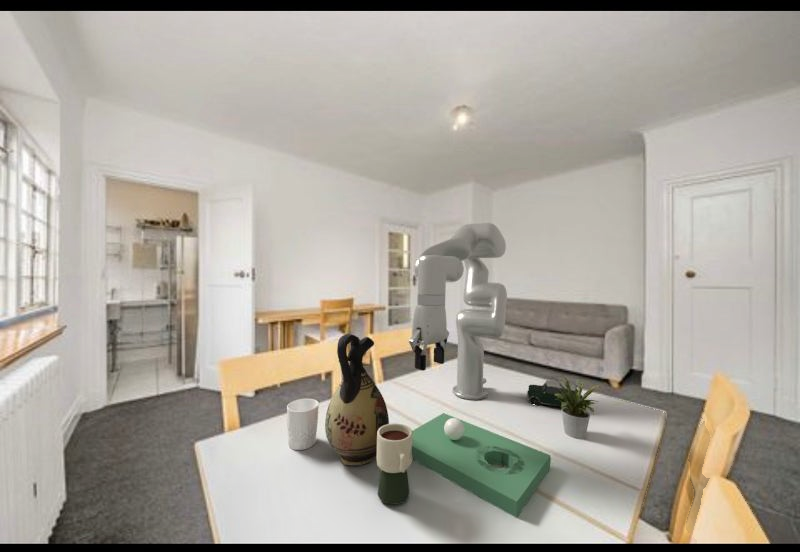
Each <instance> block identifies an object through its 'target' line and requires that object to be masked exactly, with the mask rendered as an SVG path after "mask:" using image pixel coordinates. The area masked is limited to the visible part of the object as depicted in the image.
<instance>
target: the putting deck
mask: <svg viewBox="0 0 800 552" xmlns="http://www.w3.org/2000/svg"><path fill="white" fill-rule="evenodd" d="M451 418H456V419H458V420H460V421H461V422H462V424H463V426H464V434H463V436H462V437H461V438H460V439H458V440H451V439H450V438H448V437H447V436H446V434H445V431H444V425H445V423H446V421H447V420H449V419H451ZM412 443H413V444H412V460H413V461H416V462H417V463H419V464H421V465H423V466H424V467H426V468H427V469H429V470H431V471H432V472H435V473H437V474H439V475H440V476H442V477H443V478H446V479H447V480H449V481H450V482H452V483H454V484H456V485H457V486H460V487H461V488H463V489H465V490H467V491H468V492H470V493H472V494H474V495H475V496H477V497H479V498H481V499H483V500H484V501H485V502H488V503H490V505H493V506H495V507H497V508H498V509H501V510H502V511H504V512H506V514H509V515H511V516H512V517H514V518H515V519H516V518H518V516H519V515H520V513H521V512H522V511H523V509H524V508H525V506H526V505H527V503H528V502H529V500H530V499H531V497H532V496H533V495H534V493H535V491H536V490H537V489H538V487H539V485H540V484H541V482H542V481H543V480H544V479H545V477H546V476H547V474H548V472H549V471H550V470H551V459H552V457H551V456H552V455H551V454H548V453H546V452H543V451H541V450H537V449H536V448H534V447H531V446H528V445H525V444H523V443H522V442H518V441H515V440H513V439H510V438H508V437H506V436H503V435H500V434H498V433H495V432H493V431H490V430H488V429H485V428H482V427H480V426H477V425H474V424H472V423H470V422H469V421H464V420H463V419H459V418H457V417H455V416H452V415H449V414H447V413H444V412H443V413H442V414H439V415H437V416H436V417H434V418H432V419H430V420H429V421H427V422H425V423H423V424H422V425H420V426H418V427H417V428H414V429H413V430H412ZM492 464H498V465H502V466H504V467H507V468H502V467H497V466H494V465H492Z"/></svg>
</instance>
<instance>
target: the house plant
mask: <svg viewBox="0 0 800 552" xmlns="http://www.w3.org/2000/svg"><path fill="white" fill-rule="evenodd" d="M547 376H548V377H550V375H547ZM552 378H553V379H554V380H555V381H558V382H559V381H560V380H558V379H557V378H556V377H554V376H552ZM580 378H581V377H578V379H577V381H576V385H575V386H576V388H575V392H573V394H572V391H571V388H570V385H569V383H570V381H569V380H568V379H567V378H566V377H565V376H563V377H561V379H562V382H564V383H565V386H566V387H567V389H568V391H567V390H566V389H565V388H564V387H563V386H562V385H561V384H560V382H559V384H560V386H561V387H562V388H563V390H564V392H565V393H566V395H567V397H568V399H569V401H570V403H569V402H568V400H567V398H566V397H565V395H564V393H563V392H562V391H561V389H559V388H558V387H557V388H558V389H559V390H560V391H561V392H562V394H563V395H564V396H562V395H561V394H555V396H558V397H557V398H560V399H563V400H564V401H565V402H562V401H561V402H562V404H561V407H560V408H561V415H562V421H563V423H562V424H563V430H564V433H565V434H566V435H567V436H569V437H570V438H573V439H579V440H582V439H583V440H584V439H585V438H586V436H587V431H588V427H589V423H590V418H591V414H590V413H589V412H588V411H587V409H588V410H590V412H591V413H592V414H593V415H595V414H594V413H595V409H594V408H593V407H592V406H591V405H594V404H598V403H599V401H597V400H596V402H597V403H596V402H595V400H593V399H587V397H589V395H591V394H592V393H595V390H596V389H597V388H598V387H601V386H602V384H599V385H595V386H592V387H590V389H588V390H586V392H584V394H583V395H582V393H583V389H584V388H583V386H585V385H586V383H584V384H583V381H582V380H581V382H580V384H579V388H578V383H579V381H580ZM555 385H558V384H555ZM552 387H554V386H552ZM576 389H578V390H577V392H576ZM578 391H579V392H578ZM568 392H569V393H568ZM581 395H582V396H583V397H582V399H581V400H580V396H581ZM556 400H558V399H556ZM579 400H580V401H579ZM578 402H579V403H578ZM566 405H567V406H568V407H567V406H566ZM563 406H566V407H563Z"/></svg>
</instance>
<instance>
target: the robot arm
mask: <svg viewBox="0 0 800 552" xmlns="http://www.w3.org/2000/svg"><path fill="white" fill-rule="evenodd" d="M506 247H507V245H506V241H505V238H504V236H503V234H502V232H501V231H500V229H499V228H498V227H497V226H496V225H495V224H493V223H491V222H483V223H468V224H463V225H461V226H460V227H459V228H458V229H457V230H456V232H454V234H453V235H452V236H451V237H450V238H449V239H446V240H443V241H441V242H439V243H436V244H434V245H432V246H430V247H428V248H425V250H423V252H422V253H421V254H420V255H419V256H418V258H417V259H416V261H415V263H414V269H413V270H414V271H413V272H414V274H415V277H416V278H417V302H416V303H417V305H416V306H415V307H414V308H415V309H414V312H413V319H412V330H411V337H410V339H408V343H409V345H410V348H411V349H412V351H413V354H414V369H416V370H420V371H426V368H427V355H426V354H425V353H426V350H427V347H428V346H429V345H434V348H433V362H434V363H437V364H441V365H443V364H445V350H446V344H447V342H448V337H449V336H450V332H449V331H448V329H447V325H448V323H447V313H446V287H447V286H446V284H447V283H454V282H457V281H459V280H461V278H462V277H463V274H464V270H466V273H465V281H464V289H463V302H464V304H465V305H467V306H469V307H477V308H489V309H491V310H486V309H485V310H484V309H474V308H472V309H471V308H467V309H466V308H465V309H461V310H459V311H458V312H457V314H456V317H455V325H456V333H457V364H456V365H457V368H456V369H457V370H456V371H457V372H456V385H454V386H453V387H452V393H453V395H455V396H456V397H459V398H460V399H461V398H462V399H466V400H476V401H477V400H482V399H484V398H486V397H487V396H488V391H487V389H485V388H484V384H486V383H487V382H488V380H487V379H486V378H485V377H484V358H485V357H484V356H485V353H484V352H485V349H484V344H483V343H482V340H481V339H480V338H479V337H485V338H495V339H497V338H500V337H502V336H503V334H504V332H505V325H506V314H507V313H506V312H507V302H508V293H507V291H508V290H507V289H506V286H505V285H504V284H502V283H499V282H489V275H490V274H489V269H488V267H487V266H486V264H485V263H484V262H483V261H482V260H481V259H493V258H494V259H497V258H498V259H499V258H501V257H503V256H504V255H505V254H506V253H505V252H506V249H507V248H506ZM463 262H464V264H463ZM464 266H465V269H464Z"/></svg>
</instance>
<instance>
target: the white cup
mask: <svg viewBox="0 0 800 552" xmlns="http://www.w3.org/2000/svg"><path fill="white" fill-rule="evenodd" d="M319 403H320V402H319V401H318V400H316V399H313V398H299V399H295V400H293V401H291V402H289V403H288V404H287V405H286V420H287V421H286V422H287V436H288V437H287V439H288V446H289V448H290V449H291V450H293V451H302V450H307V449H310V448H312V447H313V446H314V445H315V444H316V441H317V432H318V425H319V424H318V423H319V422H318V420H319V408H320V407H319V406H320V404H319Z"/></svg>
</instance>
